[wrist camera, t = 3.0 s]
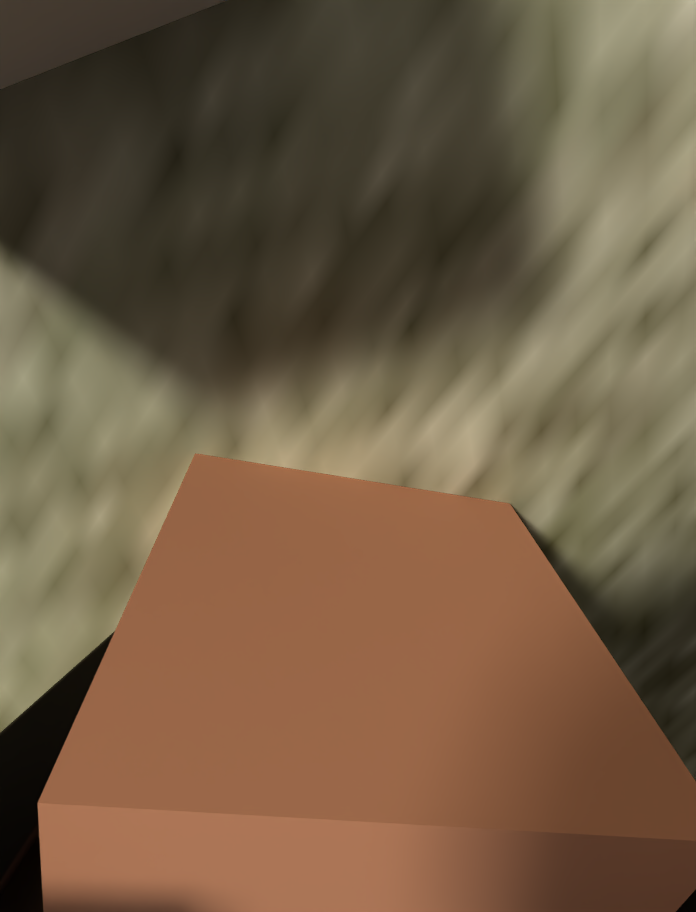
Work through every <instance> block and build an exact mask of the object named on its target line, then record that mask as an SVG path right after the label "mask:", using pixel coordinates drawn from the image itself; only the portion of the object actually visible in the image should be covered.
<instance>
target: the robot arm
mask: <svg viewBox="0 0 696 912" xmlns="http://www.w3.org/2000/svg"><path fill="white" fill-rule="evenodd" d="M113 635H114V632H113V633H112V634H111V635H110V636H109V637H108V638H107V639H106V640H104V641H103V642H102V643H101V644H100V645H99V646H98V647H96V648H95V649H94V650H93V651H92V652H91V653H90V654H89V655H87V656H86V657H85V658H84V659H83V660H82V661H81V662H80V663H78V664H77V665H76V666H75V667H74V668H73V669H72V670H71V671H69V672H68V673H67V674H66V675H65V676H64V677H63V678H62V679H60V680H59V681H58V682H57V683H56V684H55V685H54V686H53V687H51V688H50V689H49V690H48V691H47V692H46V693H45V694H43V695H42V696H41V697H40V698H39V699H38V700H37V701H36V702H34V703H33V704H32V705H31V706H30V707H29V708H28V709H27V710H25V711H24V712H23V713H22V714H21V715H20V716H19V717H18V718H16V719H15V720H14V721H13V722H12V723H11V724H10V725H9V726H7V727H6V728H5V729H4V730H3V731H2V732H1V733H0V912H43V894H42V876H41V857H40V839H39V821H38V801H39V799H40V796H41V794H42V792H43V790H44V788H45V785H46V783H47V781H48V779H49V776H50V774H51V772H52V770H53V768H54V765H55V763H56V761H57V759H58V756H59V754H60V752H61V750H62V748H63V745H64V743H65V741H66V739H67V737H68V734H69V732H70V730H71V728H72V725H73V723H74V721H75V719H76V717H77V714H78V712H79V710H80V708H81V706H82V703H83V701H84V699H85V697H86V694H87V692H88V690H89V688H90V686H91V683H92V681H93V679H94V677H95V674H96V672H97V670H98V668H99V666H100V663H101V661H102V659H103V657H104V655H105V652H106V650H107V648H108V646H109V643H110V641H111V639H112V637H113ZM676 912H696V889H695V891H694V892H693V893H692V894H691V895H690V896H689V897H688V898H687V900H686V901H685V902H684V903H683V904H682V905H681V906H680V907H679V908H678V910H677V911H676Z"/></svg>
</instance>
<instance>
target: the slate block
mask: <svg viewBox="0 0 696 912" xmlns="http://www.w3.org/2000/svg"><path fill="white" fill-rule="evenodd" d="M224 1H227V0H0V89H2V88H5V87H8V86H10V85H13V84H15V83H18V82H20V81H23V80H25V79H28V78H31V77H33V76H36V75H38V74H41V73H43V72H46V71H48V70H51V69H53V68H56V67H59V66H61V65H64V64H66V63H69V62H71V61H74V60H76V59H79V58H82V57H84V56H87V55H89V54H92V53H94V52H97V51H99V50H102V49H104V48H107V47H110V46H112V45H115V44H117V43H120V42H122V41H125V40H127V39H130V38H133V37H135V36H138V35H140V34H143V33H145V32H148V31H150V30H153V29H155V28H158V27H161V26H163V25H166V24H168V23H171V22H173V21H176V20H178V19H181V18H184V17H186V16H189V15H191V14H194V13H196V12H199V11H201V10H204V9H206V8H209V7H212V6H214V5H217V4H219V3H222V2H224Z"/></svg>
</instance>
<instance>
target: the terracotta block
mask: <svg viewBox="0 0 696 912" xmlns="http://www.w3.org/2000/svg"><path fill="white" fill-rule="evenodd" d="M38 821H39V839H40V857H41V876H42V894H43V912H676V911H677V910H678V908H679V907H680V906H681V905H682V904H683V903H684V902H685V901H686V900H687V898H688V897H689V896H690V895H691V894H692V893H693V892H694V891H695V889H696V781H695V780H694V778H693V777H692V775H691V774H690V772H689V771H688V769H687V768H686V766H685V765H684V763H683V762H682V760H681V759H680V757H679V756H678V754H677V753H676V751H675V750H674V748H673V747H672V745H671V744H670V742H669V741H668V739H667V738H666V736H665V735H664V733H663V732H662V730H661V729H660V727H659V726H658V724H657V723H656V721H655V720H654V718H653V717H652V715H651V714H650V712H649V711H648V709H647V708H646V706H645V705H644V703H643V702H642V700H641V699H640V697H639V696H638V694H637V693H636V691H635V690H634V688H633V687H632V685H631V684H630V682H629V681H628V679H627V678H626V676H625V675H624V673H623V672H622V670H621V669H620V667H619V666H618V664H617V663H616V661H615V660H614V658H613V657H612V655H611V654H610V652H609V651H608V649H607V648H606V646H605V645H604V643H603V642H602V640H601V639H600V637H599V636H598V635H597V633H596V632H595V630H594V629H593V627H592V626H591V624H590V623H589V621H588V620H587V618H586V617H585V615H584V614H583V612H582V611H581V609H580V608H579V606H578V605H577V603H576V602H575V600H574V599H573V597H572V596H571V594H570V593H569V591H568V590H567V588H566V587H565V585H564V584H563V582H562V581H561V579H560V578H559V576H558V575H557V573H556V572H555V570H554V569H553V567H552V566H551V564H550V563H549V561H548V560H547V558H546V557H545V555H544V554H543V552H542V551H541V549H540V548H539V546H538V545H537V543H536V542H535V540H534V539H533V537H532V536H531V534H530V533H529V531H528V530H527V528H526V527H525V525H524V524H523V522H522V521H521V519H520V518H519V516H518V515H517V513H516V512H515V510H514V509H513V507H512V506H511V504H509V503H503V502H496V501H490V500H484V499H478V498H471V497H465V496H459V495H453V494H446V493H440V492H434V491H428V490H421V489H415V488H409V487H402V486H396V485H390V484H384V483H377V482H371V481H365V480H359V479H352V478H346V477H340V476H334V475H327V474H321V473H315V472H308V471H302V470H296V469H290V468H283V467H277V466H271V465H265V464H258V463H252V462H246V461H240V460H233V459H227V458H221V457H214V456H208V455H202V454H196V453H195V455H194V457H193V459H192V462H191V464H190V466H189V468H188V471H187V473H186V475H185V477H184V479H183V482H182V484H181V486H180V488H179V491H178V493H177V495H176V497H175V499H174V502H173V504H172V506H171V508H170V510H169V513H168V515H167V517H166V519H165V522H164V524H163V526H162V528H161V530H160V533H159V535H158V537H157V539H156V541H155V544H154V546H153V548H152V550H151V553H150V555H149V557H148V559H147V561H146V564H145V566H144V568H143V570H142V573H141V575H140V577H139V579H138V581H137V584H136V586H135V588H134V590H133V592H132V595H131V597H130V599H129V601H128V604H127V606H126V608H125V610H124V612H123V615H122V617H121V619H120V621H119V623H118V626H117V628H116V630H115V632H114V635H113V637H112V639H111V641H110V643H109V646H108V648H107V650H106V652H105V655H104V657H103V659H102V661H101V663H100V666H99V668H98V670H97V672H96V674H95V677H94V679H93V681H92V683H91V686H90V688H89V690H88V692H87V694H86V697H85V699H84V701H83V703H82V706H81V708H80V710H79V712H78V714H77V717H76V719H75V721H74V723H73V725H72V728H71V730H70V732H69V734H68V737H67V739H66V741H65V743H64V745H63V748H62V750H61V752H60V754H59V756H58V759H57V761H56V763H55V765H54V768H53V770H52V772H51V774H50V776H49V779H48V781H47V783H46V785H45V788H44V790H43V792H42V794H41V796H40V799H39V801H38Z"/></svg>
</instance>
